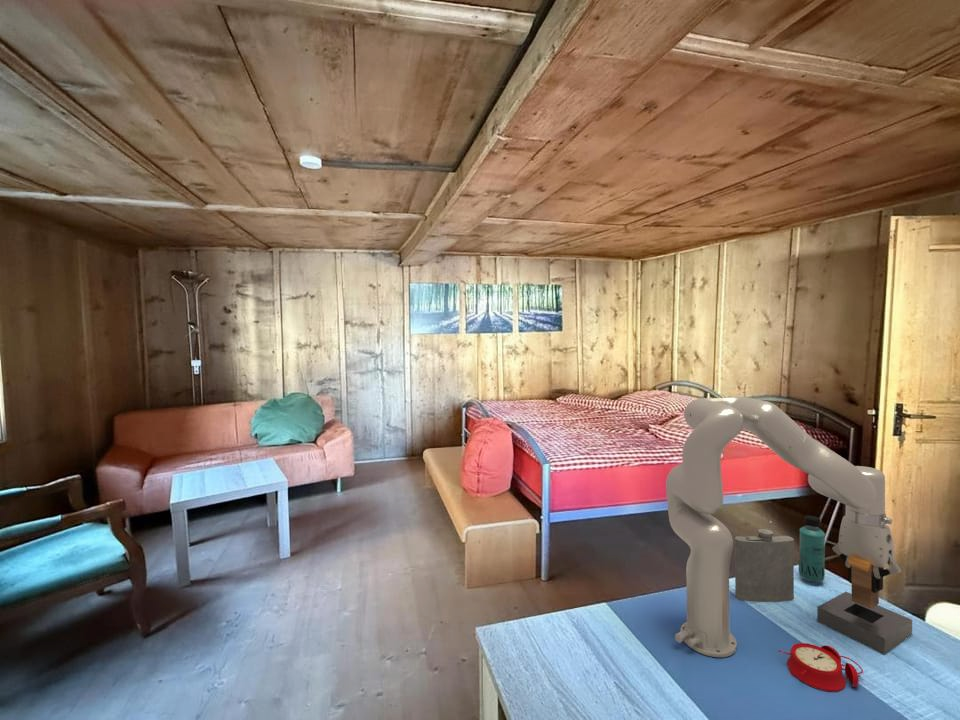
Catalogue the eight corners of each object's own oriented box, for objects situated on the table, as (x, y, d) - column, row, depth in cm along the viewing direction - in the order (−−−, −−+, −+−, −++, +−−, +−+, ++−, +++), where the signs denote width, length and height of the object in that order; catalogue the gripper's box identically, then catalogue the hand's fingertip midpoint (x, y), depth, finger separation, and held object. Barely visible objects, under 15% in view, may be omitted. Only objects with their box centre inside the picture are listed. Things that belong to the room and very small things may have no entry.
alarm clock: (772, 643, 104) (834, 627, 104) (777, 667, 105) (840, 652, 104) (803, 677, 94) (873, 660, 93) (810, 704, 94) (879, 687, 94)
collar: (884, 654, 104) (884, 638, 104) (817, 621, 116) (817, 606, 116) (912, 635, 110) (912, 619, 110) (845, 605, 123) (845, 591, 122)
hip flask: (789, 593, 129) (789, 527, 128) (798, 602, 125) (798, 533, 124) (733, 594, 130) (732, 527, 128) (740, 602, 125) (740, 534, 124)
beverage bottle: (793, 578, 137) (793, 514, 136) (808, 573, 139) (809, 511, 138) (814, 589, 131) (815, 523, 129) (830, 584, 132) (831, 519, 131)
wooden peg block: (867, 610, 110) (867, 563, 109) (848, 602, 113) (848, 556, 112) (881, 601, 113) (881, 556, 112) (862, 594, 116) (862, 549, 116)
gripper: (915, 525, 106) (915, 598, 107) (834, 502, 121) (834, 567, 122) (900, 532, 102) (900, 608, 103) (819, 508, 117) (819, 575, 118)
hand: (864, 585), depth 113 cm, fingers closed on wooden peg block, 4 cm apart
